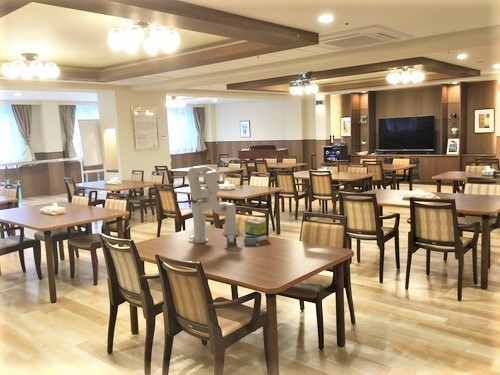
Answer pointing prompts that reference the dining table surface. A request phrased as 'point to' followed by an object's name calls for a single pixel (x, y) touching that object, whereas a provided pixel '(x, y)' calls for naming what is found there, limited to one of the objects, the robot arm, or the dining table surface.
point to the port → (250, 241)
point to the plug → (231, 238)
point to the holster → (231, 244)
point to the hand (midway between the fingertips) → (231, 243)
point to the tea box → (256, 229)
